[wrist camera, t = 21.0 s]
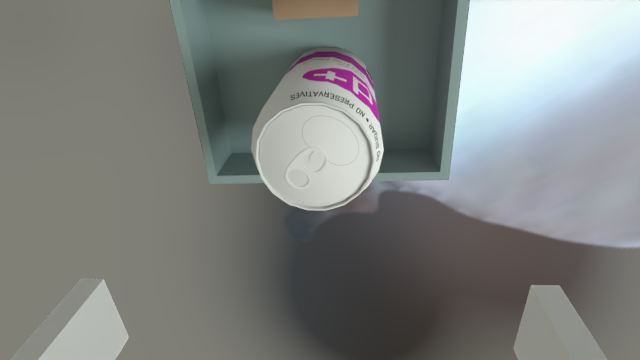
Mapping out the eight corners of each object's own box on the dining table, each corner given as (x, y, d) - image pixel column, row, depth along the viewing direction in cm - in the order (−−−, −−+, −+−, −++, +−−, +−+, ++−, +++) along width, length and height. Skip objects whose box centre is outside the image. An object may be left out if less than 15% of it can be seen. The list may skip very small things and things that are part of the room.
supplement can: (321, 24, 33) (299, 59, 20) (392, 85, 35) (415, 154, 22) (268, 96, 36) (219, 166, 23) (335, 147, 38) (325, 240, 25)
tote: (173, -123, 29) (137, -142, 24) (465, -149, 27) (490, -176, 22) (227, 158, 40) (209, 183, 35) (436, 153, 38) (448, 180, 33)
